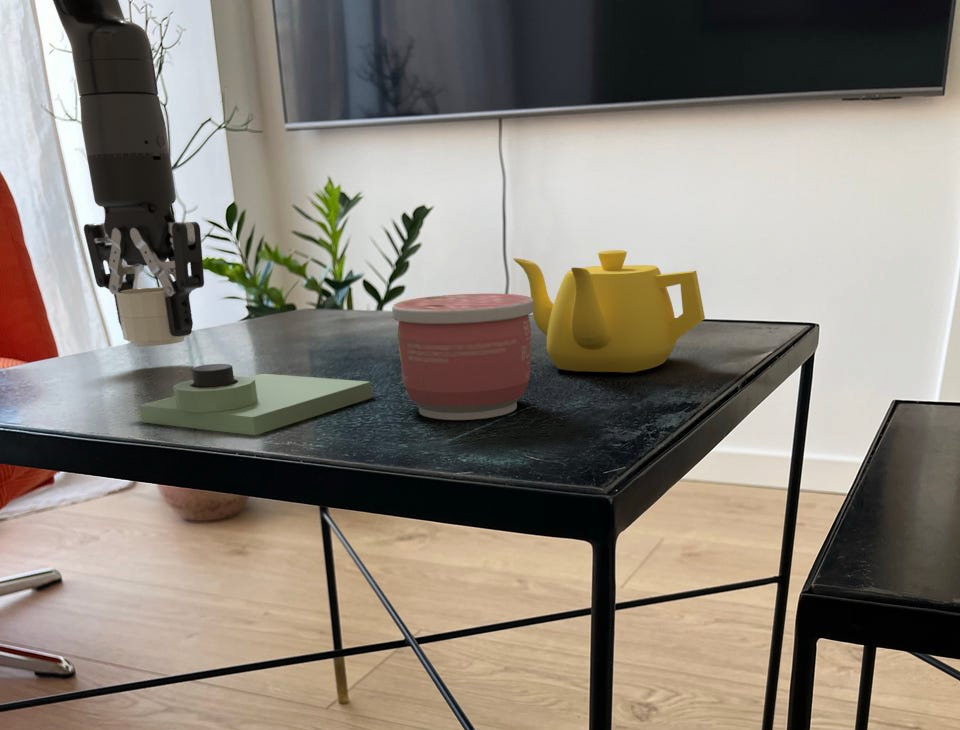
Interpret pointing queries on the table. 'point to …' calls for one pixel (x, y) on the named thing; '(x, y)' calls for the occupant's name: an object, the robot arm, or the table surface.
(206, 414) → the scale
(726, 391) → the table surface
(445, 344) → the container
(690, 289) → the teapot
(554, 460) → the table surface
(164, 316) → the cream cup
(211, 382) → the button
